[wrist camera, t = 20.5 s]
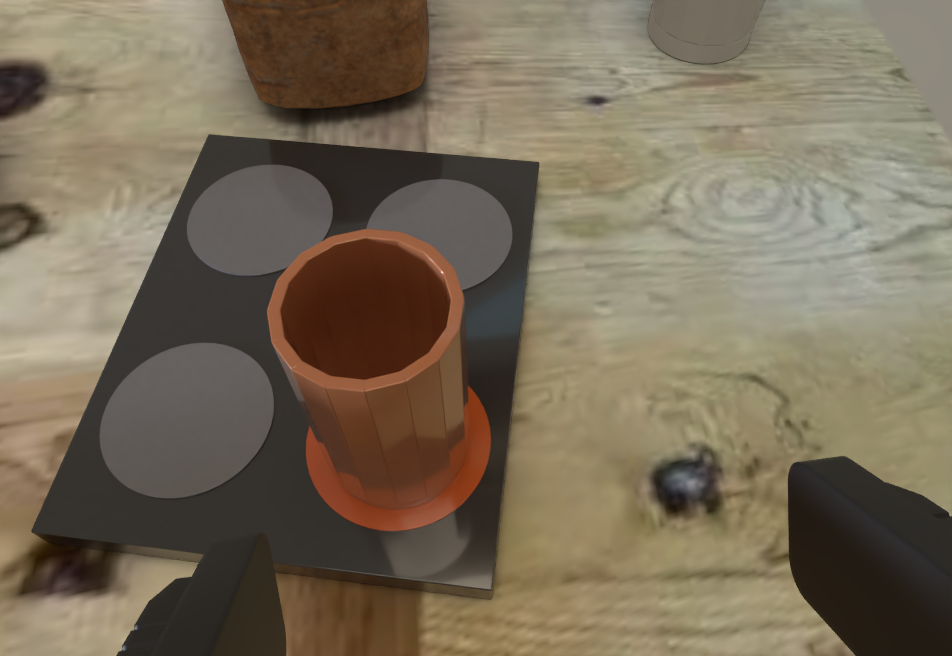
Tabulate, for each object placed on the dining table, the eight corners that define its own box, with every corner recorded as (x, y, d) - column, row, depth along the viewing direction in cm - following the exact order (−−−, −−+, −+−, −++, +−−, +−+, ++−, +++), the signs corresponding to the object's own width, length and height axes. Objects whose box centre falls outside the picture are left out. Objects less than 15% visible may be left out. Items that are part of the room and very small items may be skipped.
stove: (537, 181, 41) (539, 160, 39) (491, 600, 29) (492, 590, 28) (216, 154, 42) (207, 132, 41) (48, 543, 30) (28, 531, 29)
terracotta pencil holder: (477, 386, 32) (474, 237, 24) (458, 518, 29) (447, 401, 21) (344, 372, 33) (296, 221, 24) (312, 500, 30) (243, 378, 21)
